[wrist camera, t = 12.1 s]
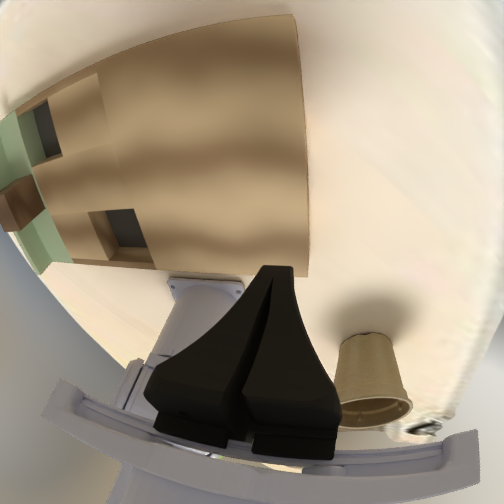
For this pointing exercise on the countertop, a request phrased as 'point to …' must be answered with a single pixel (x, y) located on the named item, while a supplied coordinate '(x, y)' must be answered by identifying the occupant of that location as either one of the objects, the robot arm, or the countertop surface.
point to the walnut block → (19, 204)
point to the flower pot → (369, 383)
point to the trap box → (171, 155)
